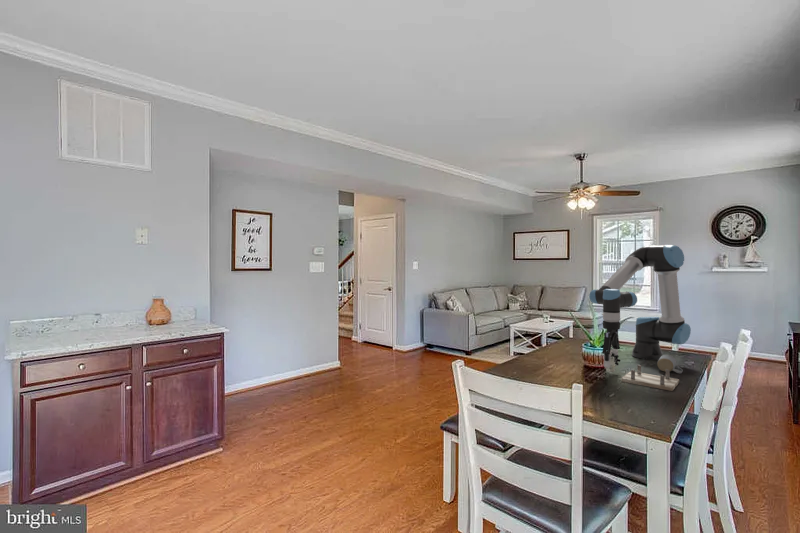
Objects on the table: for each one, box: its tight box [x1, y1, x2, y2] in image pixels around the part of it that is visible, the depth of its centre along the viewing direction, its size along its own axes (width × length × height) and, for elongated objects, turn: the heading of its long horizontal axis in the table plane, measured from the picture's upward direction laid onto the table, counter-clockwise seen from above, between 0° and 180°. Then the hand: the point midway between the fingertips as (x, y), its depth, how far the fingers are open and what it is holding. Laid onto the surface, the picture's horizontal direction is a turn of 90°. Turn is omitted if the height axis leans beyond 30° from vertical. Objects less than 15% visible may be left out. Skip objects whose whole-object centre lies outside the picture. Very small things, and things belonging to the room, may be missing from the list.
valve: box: [605, 352, 621, 373], centre depth 201 cm, size 7×7×12 cm
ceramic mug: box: [657, 354, 684, 374], centre depth 207 cm, size 11×8×8 cm
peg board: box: [621, 364, 680, 392], centre depth 190 cm, size 16×20×6 cm
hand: (611, 364), depth 202 cm, fingers closed on valve, 12 cm apart
